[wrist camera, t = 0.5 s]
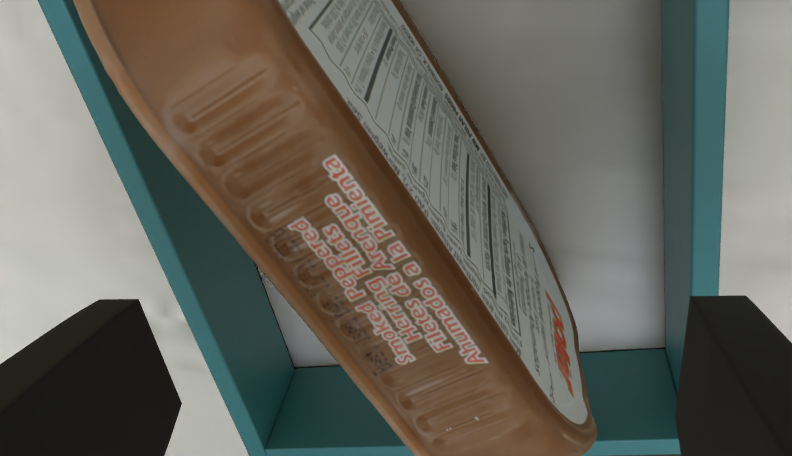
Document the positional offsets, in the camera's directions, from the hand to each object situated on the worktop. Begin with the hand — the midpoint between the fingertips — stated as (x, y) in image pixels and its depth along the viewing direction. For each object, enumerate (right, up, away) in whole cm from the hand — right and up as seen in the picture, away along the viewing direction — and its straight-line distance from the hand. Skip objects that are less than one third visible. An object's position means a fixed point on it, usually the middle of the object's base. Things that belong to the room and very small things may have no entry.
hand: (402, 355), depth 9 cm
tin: (0, +5, +9) cm, 10 cm away
